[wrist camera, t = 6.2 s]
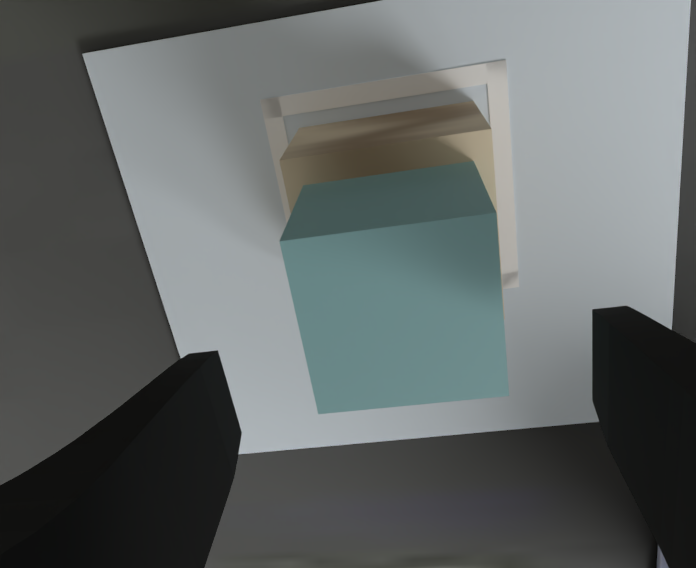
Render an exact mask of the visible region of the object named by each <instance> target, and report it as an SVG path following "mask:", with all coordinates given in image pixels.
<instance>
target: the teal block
mask: <svg viewBox="0 0 696 568" xmlns="http://www.w3.org/2000/svg"><path fill="white" fill-rule="evenodd" d="M279 242H280V247H281V251H282V256H283V260H284V264H285V269H286V273H287V278H288V282H289V287H290V291H291V295H292V300H293V304H294V309H295V313H296V318H297V322H298V326H299V331H300V335H301V340H302V344H303V349H304V353H305V358H306V362H307V366H308V371H309V375H310V380H311V384H312V389H313V393H314V397H315V402H316V406H317V411H318V414H327V413H337V412H348V411H358V410H368V409H379V408H389V407H400V406H410V405H420V404H431V403H441V402H452V401H462V400H472V399H483V398H493V397H504V396H509V386H508V372H507V358H506V343H505V329H504V314H503V300H502V285H501V271H500V256H499V242H498V227H497V213H496V210H495V208H494V206H493V204H492V201H491V199H490V197H489V195H488V192H487V190H486V188H485V185H484V183H483V181H482V179H481V176H480V174H479V172H478V170H477V167H476V165H475V163H474V161H470V162H463V163H456V164H449V165H442V166H435V167H428V168H421V169H414V170H407V171H400V172H393V173H386V174H379V175H372V176H365V177H358V178H351V179H344V180H337V181H330V182H323V183H316V184H309V185H303V187H302V189H301V192H300V194H299V196H298V199H297V201H296V203H295V206H294V208H293V210H292V213H291V215H290V217H289V220H288V222H287V225H286V227H285V229H284V232H283V234H282V236H281V239H280V241H279Z"/></svg>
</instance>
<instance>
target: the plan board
mask: <svg viewBox="0 0 696 568" xmlns="http://www.w3.org/2000/svg"><path fill="white" fill-rule="evenodd" d="M690 5H691V0H380V1H374V2H369V3H363V4H358V5H352V6H346V7H341V8H335V9H330V10H324V11H318V12H313V13H307V14H301V15H296V16H290V17H285V18H279V19H273V20H268V21H262V22H257V23H251V24H245V25H240V26H234V27H229V28H223V29H217V30H212V31H206V32H200V33H195V34H189V35H184V36H178V37H172V38H167V39H161V40H156V41H150V42H144V43H139V44H133V45H127V46H122V47H116V48H111V49H105V50H99V51H94V52H88V53H84V54H82V55H83V58H84V61H85V64H86V67H87V71H88V74H89V77H90V80H91V83H92V86H93V89H94V92H95V95H96V98H97V101H98V105H99V108H100V111H101V114H102V117H103V120H104V123H105V126H106V129H107V132H108V135H109V139H110V142H111V145H112V148H113V151H114V154H115V157H116V160H117V163H118V166H119V169H120V173H121V176H122V179H123V182H124V185H125V188H126V191H127V194H128V197H129V200H130V203H131V207H132V210H133V213H134V216H135V219H136V222H137V225H138V228H139V231H140V234H141V237H142V241H143V244H144V247H145V250H146V253H147V256H148V259H149V262H150V265H151V268H152V271H153V275H154V278H155V281H156V284H157V287H158V290H159V293H160V296H161V299H162V302H163V305H164V309H165V312H166V315H167V318H168V321H169V324H170V327H171V330H172V333H173V336H174V339H175V343H176V346H177V349H178V352H179V355H180V358H183V357H184V356H186V355H187V354H189V353H198V352H208V351H217V350H218V352H219V356H220V359H221V363H222V366H223V369H224V373H225V376H226V380H227V383H228V387H229V390H230V394H231V397H232V401H233V404H234V407H235V411H236V414H237V418H238V421H239V425H240V428H241V432H242V435H241V441H240V447H239V453H238V454H246V453H258V452H269V451H280V450H291V449H302V448H313V447H324V446H335V445H346V444H358V443H369V442H380V441H391V440H402V439H413V438H424V437H435V436H446V435H458V434H469V433H480V432H491V431H502V430H513V429H524V428H535V427H546V426H558V425H569V424H580V423H591V422H599V419H598V416H597V413H596V410H595V407H594V404H593V401H592V309H600V308H609V307H618V306H629V307H631V308H633V309H635V310H637V311H639V312H641V313H642V314H644V315H646V316H648V317H650V318H651V319H653V320H655V321H657V322H658V323H660V324H662V325H664V326H666V327H667V328H669V329H671V330H672V317H673V300H674V283H675V265H676V248H677V231H678V213H679V196H680V179H681V161H682V144H683V127H684V109H685V92H686V74H687V57H688V40H689V22H690ZM469 101H474V103H475V104H476V106H477V107H478V109H479V110H480V112H481V113H482V115H483V116H484V118H485V119H486V121H487V123H488V124H489V126H490V127H491V129H492V142H493V157H494V171H495V186H496V200H497V215H498V229H499V244H500V258H501V273H502V287H503V302H504V316H505V319H504V329H505V343H506V358H507V372H508V386H509V396H504V397H493V398H483V399H472V400H462V401H452V402H441V403H431V404H420V405H410V406H400V407H389V408H379V409H368V410H358V411H348V412H337V413H327V414H318V411H317V406H316V402H315V397H314V393H313V389H312V384H311V380H310V375H309V371H308V366H307V362H306V358H305V353H304V349H303V344H302V340H301V335H300V331H299V326H298V322H297V318H296V313H295V309H294V304H293V300H292V295H291V291H290V287H289V282H288V278H287V273H286V269H285V264H284V260H283V256H282V251H281V247H280V242H279V241H280V239H281V236H282V234H283V232H284V229H285V227H286V225H287V222H288V220H289V217H290V215H291V213H290V208H289V203H288V199H287V194H286V189H285V185H284V180H283V175H282V171H281V166H280V161H279V160H280V158H281V157H282V155H283V154H284V152H285V150H286V149H287V147H288V145H289V144H290V142H291V141H292V139H293V137H294V136H295V134H296V132H297V131H298V129H299V128H302V127H308V126H315V125H321V124H328V123H334V122H340V121H347V120H353V119H360V118H366V117H373V116H379V115H386V114H392V113H398V112H405V111H411V110H418V109H424V108H431V107H437V106H443V105H450V104H456V103H463V102H469Z"/></svg>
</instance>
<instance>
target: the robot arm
mask: <svg viewBox="0 0 696 568" xmlns="http://www.w3.org/2000/svg"><path fill="white" fill-rule="evenodd" d="M592 401H593V404H594V407H595V410H596V413H597V416H598V419H599V422H600V425H601V428H602V431H603V434H604V436H605V439H606V442H607V445H608V447H609V449H610V451H611V453H612V455H613V457H614V459H615V461H616V463H617V465H618V467H619V469H620V471H621V473H622V475H623V477H624V479H625V481H626V483H627V485H628V487H629V489H630V491H631V493H632V495H633V497H634V499H635V501H636V503H637V505H638V507H639V508H640V510H641V512H642V514H643V516H644V518H645V520H646V522H647V524H648V526H649V528H650V530H651V532H652V534H653V536H654V538H655V540H656V542H657V544H658V552H657V568H696V343H694V342H692V341H690V340H689V339H687V338H685V337H683V336H681V335H680V334H678V333H676V332H674V331H673V330H671V329H669V328H667V327H666V326H664V325H662V324H660V323H658V322H657V321H655V320H653V319H651V318H650V317H648V316H646V315H644V314H642V313H641V312H639V311H637V310H635V309H633V308H631V307H629V306H618V307H609V308H600V309H592ZM241 435H242V432H241V428H240V425H239V421H238V418H237V414H236V411H235V407H234V404H233V401H232V397H231V394H230V390H229V387H228V383H227V380H226V376H225V373H224V369H223V366H222V363H221V359H220V356H219V352H218V350H217V351H208V352H198V353H189V354H187V355H186V356H184V357H183V358H181V359H180V360H178V361H177V362H176V363H174V364H173V365H172V366H170V367H169V368H168V369H166V370H165V371H164V372H163V373H161V374H160V375H159V376H158V377H156V378H155V379H154V380H153V381H151V382H150V383H149V384H148V385H146V386H145V387H144V388H143V389H141V390H140V391H139V392H138V393H136V394H135V395H134V396H133V397H131V398H130V399H129V400H128V401H126V402H125V403H124V404H123V405H121V406H120V407H119V408H118V409H116V410H115V411H114V412H112V413H111V414H110V415H108V416H107V417H106V418H104V419H103V420H101V421H100V422H99V423H97V424H96V425H95V426H93V427H92V428H91V429H89V430H88V431H87V432H85V433H84V434H83V435H81V436H80V437H79V438H77V439H76V440H74V441H73V442H71V443H70V444H68V445H67V446H65V447H64V448H62V449H61V450H59V451H58V452H56V453H55V454H53V455H52V456H50V457H48V458H47V459H45V460H44V461H42V462H40V463H39V464H37V465H36V466H34V467H32V468H31V469H29V470H27V471H26V472H24V473H22V474H21V475H19V476H17V477H15V478H13V479H12V480H10V481H8V482H6V483H4V484H2V485H0V568H204V567H205V564H206V561H207V558H208V555H209V552H210V549H211V546H212V543H213V540H214V537H215V534H216V531H217V528H218V525H219V522H220V519H221V516H222V513H223V510H224V507H225V504H226V501H227V498H228V495H229V492H230V488H231V485H232V482H233V479H234V475H235V470H236V464H237V459H238V453H239V447H240V441H241Z"/></svg>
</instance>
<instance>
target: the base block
mask: <svg viewBox="0 0 696 568" xmlns="http://www.w3.org/2000/svg"><path fill="white" fill-rule="evenodd" d="M279 161H280V166H281V171H282V175H283V180H284V185H285V189H286V194H287V199H288V203H289V208H290V213H292V210H293V208H294V206H295V203H296V201H297V199H298V196H299V194H300V192H301V189H302V187H303V185H309V184H316V183H323V182H330V181H337V180H344V179H351V178H358V177H365V176H372V175H379V174H386V173H393V172H400V171H407V170H414V169H421V168H428V167H435V166H442V165H449V164H456V163H463V162H470V161H474V163H475V165H476V167H477V170H478V172H479V174H480V176H481V179H482V181H483V183H484V185H485V188H486V190H487V192H488V195H489V197H490V199H491V201H492V204H493V206H494V208H495V210H496V213H497V200H496V186H495V171H494V157H493V142H492V129H491V127H490V126H489V124H488V123H487V121H486V119H485V118H484V116H483V115H482V113H481V112H480V110H479V109H478V107H477V106H476V104H475V103H474V101H469V102H463V103H456V104H450V105H443V106H437V107H431V108H424V109H418V110H411V111H405V112H398V113H392V114H386V115H379V116H373V117H366V118H360V119H353V120H347V121H340V122H334V123H328V124H321V125H315V126H308V127H302V128H299V129H298V131H297V132H296V134H295V136H294V137H293V139H292V141H291V142H290V144H289V145H288V147H287V149H286V150H285V152H284V154H283V155H282V157H281V158H280V160H279ZM497 227H498V215H497ZM498 242H499V229H498ZM499 256H500V244H499ZM500 271H501V258H500ZM501 285H502V273H501ZM502 300H503V287H502ZM503 314H504V302H503ZM504 319H505V316H504Z"/></svg>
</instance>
